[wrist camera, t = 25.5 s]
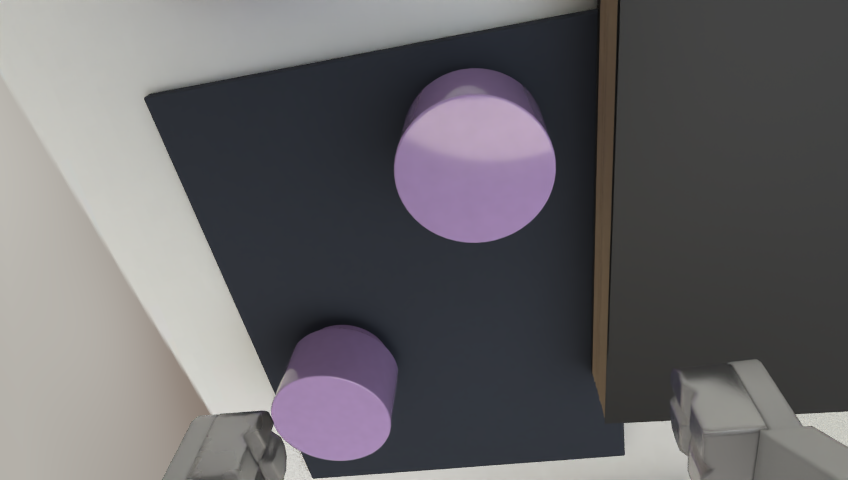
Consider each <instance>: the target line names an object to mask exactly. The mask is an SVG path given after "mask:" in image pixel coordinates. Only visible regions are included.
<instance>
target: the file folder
mask: <svg viewBox="0 0 848 480" xmlns="http://www.w3.org/2000/svg"><path fill="white" fill-rule="evenodd" d="M753 359H757V360H758V361H760V362H761V363H762V364H763V366H764V367H765V369H766V370H767V372H768V373H769V375H770V377H771V378H772V380H773V381H774V383H775V384H776V386H777V387H778V389H779V390H780V392H781V393H782V395H783V397H784V398H785V400H786V401H787V403H788V404H789V406H790V407H791V409H792V410H793V412H794V413H795V414H806V413H825V412H845V411H848V0H598V19H597V72H596V124H595V176H594V229H593V280H592V332H591V375H593V377H594V382H596V388H597V389H598V394H599V401H601V404H602V408H603V414H604V417H605V424H611V423H631V422H650V421H670V420H671V417H670V400H671V399H672V398H673V397H674V395H675V394H674V392H673V389H672V387H671V384H670V374H671V371H672V369H673V368H682V367H691V366H700V365H709V364H718V363H728V362H735V361H744V360H753Z"/></svg>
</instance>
